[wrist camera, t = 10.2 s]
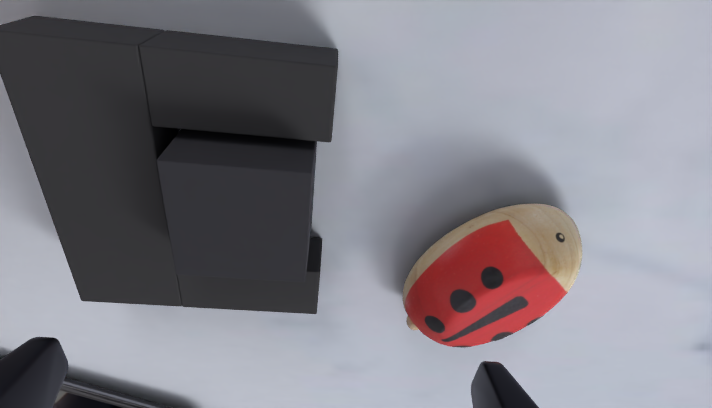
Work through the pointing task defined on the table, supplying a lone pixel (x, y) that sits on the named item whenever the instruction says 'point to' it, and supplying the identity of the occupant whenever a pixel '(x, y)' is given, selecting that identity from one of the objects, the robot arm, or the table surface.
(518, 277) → the ladybug figurine
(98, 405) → the smartphone
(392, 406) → the table surface
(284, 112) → the notched pad
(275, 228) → the black block
